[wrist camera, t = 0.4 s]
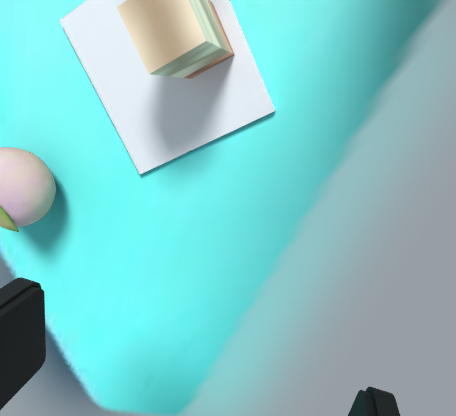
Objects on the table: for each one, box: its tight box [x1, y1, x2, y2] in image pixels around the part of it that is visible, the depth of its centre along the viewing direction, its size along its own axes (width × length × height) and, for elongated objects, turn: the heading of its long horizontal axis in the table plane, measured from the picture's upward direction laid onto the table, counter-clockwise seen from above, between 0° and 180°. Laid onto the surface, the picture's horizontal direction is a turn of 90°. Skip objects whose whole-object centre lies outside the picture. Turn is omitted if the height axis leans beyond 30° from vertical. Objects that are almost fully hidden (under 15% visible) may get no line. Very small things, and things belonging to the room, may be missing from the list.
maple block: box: [117, 0, 235, 79], centre depth 29 cm, size 5×5×10 cm
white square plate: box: [59, 0, 276, 174], centre depth 35 cm, size 17×18×1 cm
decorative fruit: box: [0, 147, 56, 231], centre depth 38 cm, size 9×8×10 cm
